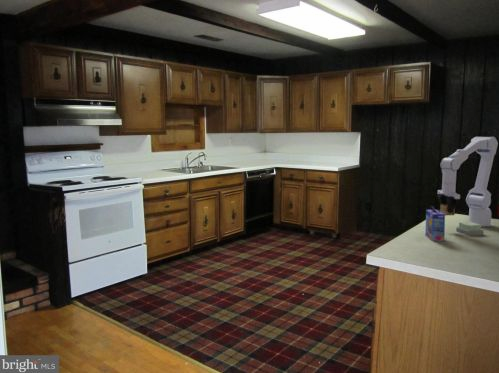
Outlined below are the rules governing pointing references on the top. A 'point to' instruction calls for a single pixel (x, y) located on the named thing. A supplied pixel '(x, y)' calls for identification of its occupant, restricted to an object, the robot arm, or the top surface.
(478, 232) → the base tile
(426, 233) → the ink cartridge box
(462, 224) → the top tile
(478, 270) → the top surface
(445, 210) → the walnut cube
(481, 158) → the robot arm
